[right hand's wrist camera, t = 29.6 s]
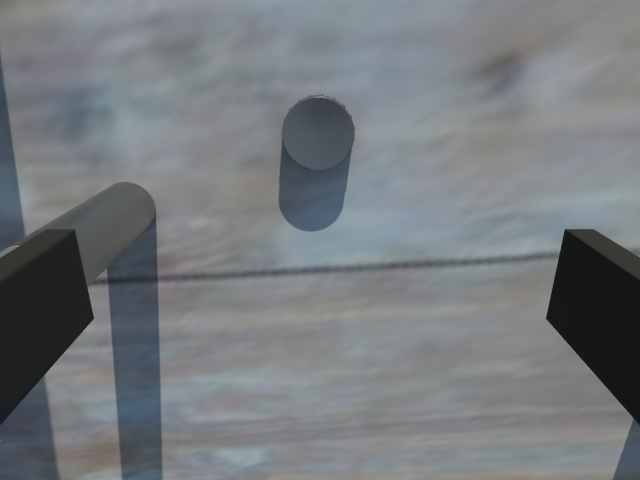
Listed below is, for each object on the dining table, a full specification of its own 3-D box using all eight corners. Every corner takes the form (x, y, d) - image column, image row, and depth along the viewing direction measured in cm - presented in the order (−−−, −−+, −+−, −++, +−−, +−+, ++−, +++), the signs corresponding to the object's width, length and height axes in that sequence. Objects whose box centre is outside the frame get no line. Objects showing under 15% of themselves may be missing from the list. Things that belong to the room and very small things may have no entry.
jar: (133, 242, 41) (27, 345, 26) (91, 206, 39) (-46, 292, 25) (166, 209, 40) (75, 296, 25) (124, 170, 38) (1, 239, 24)
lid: (349, 89, 36) (351, 90, 34) (357, 161, 38) (359, 165, 36) (277, 99, 36) (275, 101, 35) (289, 170, 38) (288, 175, 37)
